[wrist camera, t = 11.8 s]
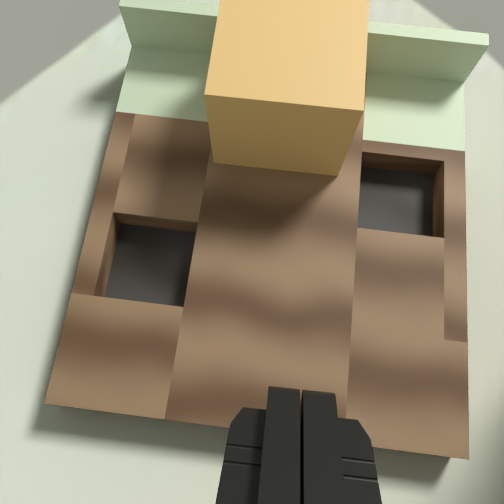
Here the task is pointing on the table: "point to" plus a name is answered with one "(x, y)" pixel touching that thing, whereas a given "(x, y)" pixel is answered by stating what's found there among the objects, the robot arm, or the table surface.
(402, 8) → the table surface
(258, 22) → the ochre block
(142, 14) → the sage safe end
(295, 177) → the board
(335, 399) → the robot arm
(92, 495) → the table surface
